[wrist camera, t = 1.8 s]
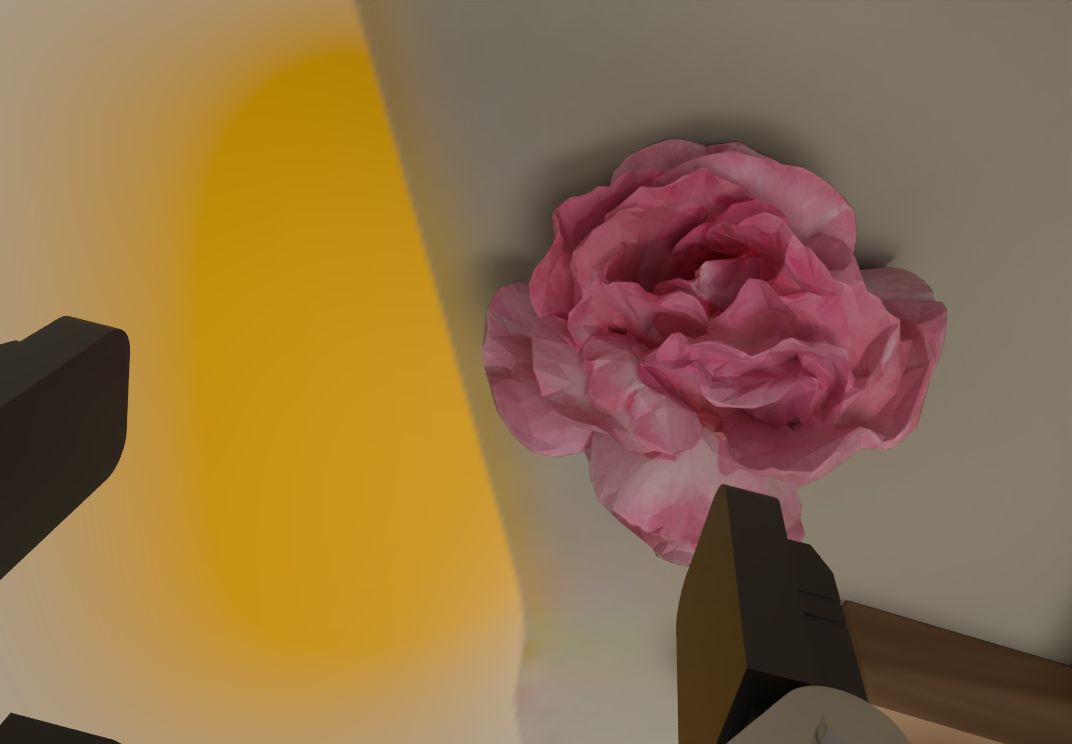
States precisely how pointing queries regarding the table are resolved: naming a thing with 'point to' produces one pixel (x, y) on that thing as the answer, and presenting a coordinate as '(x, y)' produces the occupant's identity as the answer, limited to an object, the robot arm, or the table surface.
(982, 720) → the wooden slat frame
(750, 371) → the flower
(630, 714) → the table surface
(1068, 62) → the table surface
